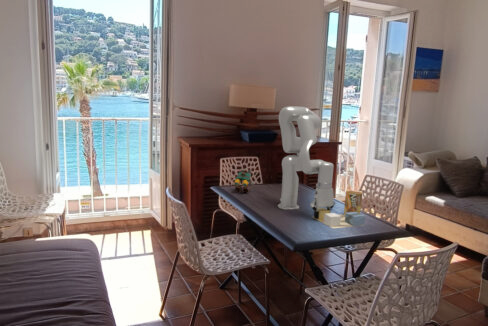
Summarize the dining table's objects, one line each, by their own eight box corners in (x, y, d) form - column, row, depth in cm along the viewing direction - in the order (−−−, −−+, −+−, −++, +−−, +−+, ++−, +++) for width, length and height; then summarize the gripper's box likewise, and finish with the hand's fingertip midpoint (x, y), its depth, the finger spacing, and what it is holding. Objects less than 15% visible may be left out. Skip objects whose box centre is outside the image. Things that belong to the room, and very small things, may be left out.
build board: (311, 219, 211) (312, 208, 210) (341, 216, 219) (342, 205, 218) (332, 230, 194) (333, 218, 193) (364, 227, 202) (365, 215, 201)
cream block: (323, 222, 202) (324, 213, 201) (332, 221, 204) (333, 212, 203) (330, 226, 196) (331, 217, 196) (339, 225, 199) (340, 216, 198)
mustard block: (313, 217, 210) (314, 208, 209) (323, 216, 212) (323, 208, 212) (320, 221, 205) (320, 211, 204) (329, 220, 207) (330, 211, 206)
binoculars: (232, 195, 265) (229, 179, 255) (238, 182, 275) (235, 166, 265) (252, 198, 261) (250, 181, 251) (257, 184, 271) (255, 168, 261)
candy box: (359, 217, 219) (362, 191, 216) (359, 219, 215) (362, 192, 212) (343, 215, 221) (346, 189, 219) (343, 217, 217) (346, 191, 214)
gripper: (314, 187, 199) (312, 221, 202) (342, 186, 205) (339, 218, 208) (306, 184, 205) (304, 216, 208) (333, 183, 212) (330, 214, 215)
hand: (321, 217), depth 208 cm, fingers open, 6 cm apart
